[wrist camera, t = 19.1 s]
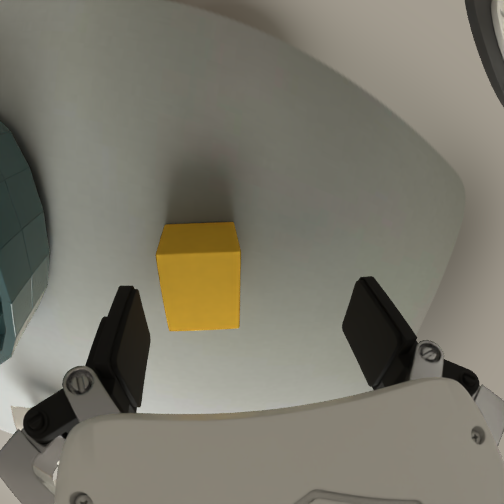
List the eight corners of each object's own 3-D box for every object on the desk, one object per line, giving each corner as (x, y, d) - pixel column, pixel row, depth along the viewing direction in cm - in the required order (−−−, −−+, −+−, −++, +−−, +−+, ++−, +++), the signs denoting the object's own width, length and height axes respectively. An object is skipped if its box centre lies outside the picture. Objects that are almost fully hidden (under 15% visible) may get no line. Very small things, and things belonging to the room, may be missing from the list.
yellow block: (173, 294, 18) (168, 331, 15) (164, 223, 15) (154, 253, 12) (233, 291, 18) (239, 328, 15) (233, 221, 16) (241, 250, 13)
